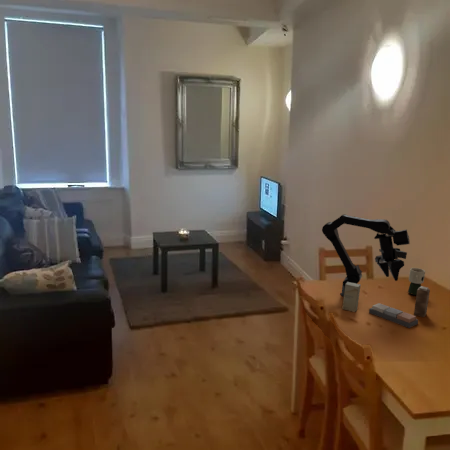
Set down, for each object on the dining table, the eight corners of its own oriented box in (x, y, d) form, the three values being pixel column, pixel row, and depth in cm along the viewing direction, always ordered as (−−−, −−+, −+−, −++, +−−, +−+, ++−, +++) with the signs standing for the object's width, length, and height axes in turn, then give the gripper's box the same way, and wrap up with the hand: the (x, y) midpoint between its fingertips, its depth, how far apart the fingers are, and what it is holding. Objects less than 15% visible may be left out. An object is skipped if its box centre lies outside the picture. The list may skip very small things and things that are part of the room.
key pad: (368, 312, 219) (369, 305, 219) (377, 309, 224) (378, 302, 223) (409, 328, 205) (410, 320, 204) (417, 324, 210) (418, 316, 209)
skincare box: (341, 309, 222) (344, 284, 219) (344, 306, 226) (347, 281, 223) (355, 312, 219) (358, 286, 217) (357, 309, 223) (360, 284, 220)
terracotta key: (396, 319, 210) (397, 314, 210) (403, 316, 214) (404, 311, 213) (408, 323, 206) (409, 319, 205) (415, 320, 209) (416, 316, 209)
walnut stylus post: (413, 314, 220) (417, 287, 217) (416, 311, 224) (419, 285, 221) (424, 317, 218) (428, 290, 215) (426, 314, 221) (430, 287, 218)
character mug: (421, 299, 240) (425, 274, 237) (406, 296, 243) (409, 271, 240) (421, 292, 250) (425, 268, 247) (407, 289, 253) (410, 265, 250)
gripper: (412, 245, 218) (417, 279, 220) (393, 240, 237) (399, 271, 239) (389, 250, 217) (394, 284, 219) (372, 245, 236) (377, 276, 238)
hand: (392, 278), depth 229 cm, fingers open, 9 cm apart
